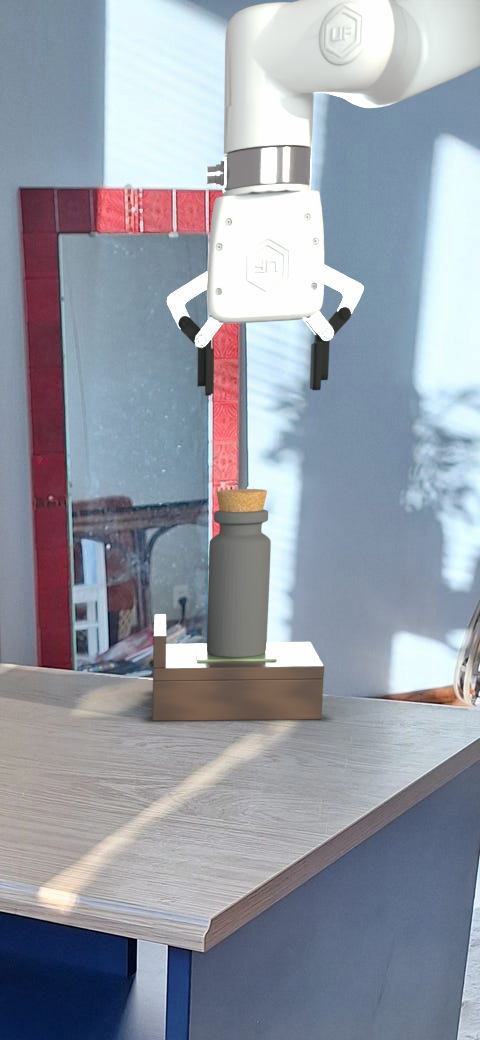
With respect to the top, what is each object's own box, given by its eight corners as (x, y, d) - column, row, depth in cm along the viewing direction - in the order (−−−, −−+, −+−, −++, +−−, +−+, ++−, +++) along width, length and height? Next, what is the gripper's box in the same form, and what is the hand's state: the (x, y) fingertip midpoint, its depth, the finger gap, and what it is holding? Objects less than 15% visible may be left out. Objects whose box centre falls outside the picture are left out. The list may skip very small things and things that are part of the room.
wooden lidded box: (308, 690, 152) (312, 611, 149) (321, 719, 140) (326, 633, 136) (153, 692, 154) (154, 614, 151) (152, 721, 141) (153, 636, 138)
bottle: (277, 654, 143) (285, 490, 137) (225, 659, 141) (230, 493, 135) (246, 645, 148) (252, 487, 142) (195, 650, 146) (199, 490, 140)
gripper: (166, 179, 125) (166, 397, 132) (374, 165, 123) (363, 388, 130) (166, 189, 132) (166, 397, 139) (363, 176, 130) (353, 388, 137)
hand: (261, 392), depth 134 cm, fingers open, 9 cm apart
